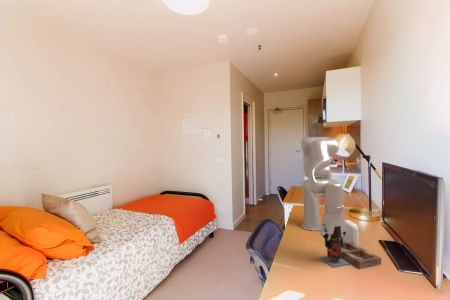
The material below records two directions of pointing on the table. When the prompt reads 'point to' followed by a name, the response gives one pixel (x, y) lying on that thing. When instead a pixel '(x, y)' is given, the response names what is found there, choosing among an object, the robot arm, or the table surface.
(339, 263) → the mat
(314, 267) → the table surface
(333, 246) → the deodorant
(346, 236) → the photo printer
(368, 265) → the well board
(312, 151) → the robot arm
